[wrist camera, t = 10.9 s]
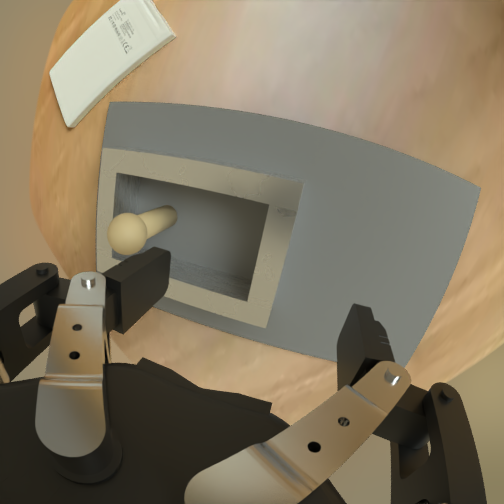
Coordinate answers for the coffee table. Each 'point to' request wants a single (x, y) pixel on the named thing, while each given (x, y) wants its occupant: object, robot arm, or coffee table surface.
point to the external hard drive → (107, 55)
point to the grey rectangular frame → (213, 179)
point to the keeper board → (300, 223)
